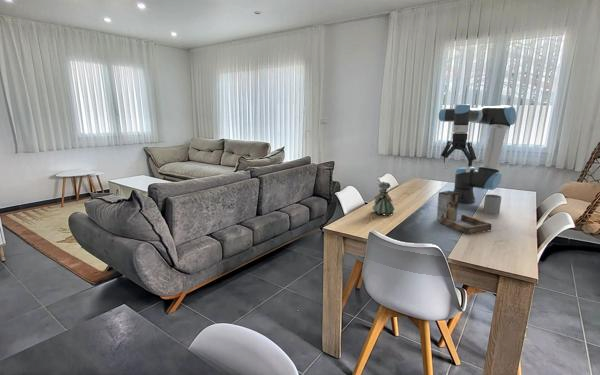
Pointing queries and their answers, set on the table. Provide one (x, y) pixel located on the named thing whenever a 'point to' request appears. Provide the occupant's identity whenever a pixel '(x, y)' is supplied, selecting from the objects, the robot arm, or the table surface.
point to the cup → (492, 204)
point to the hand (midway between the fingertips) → (456, 170)
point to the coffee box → (447, 205)
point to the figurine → (383, 200)
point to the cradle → (466, 224)
